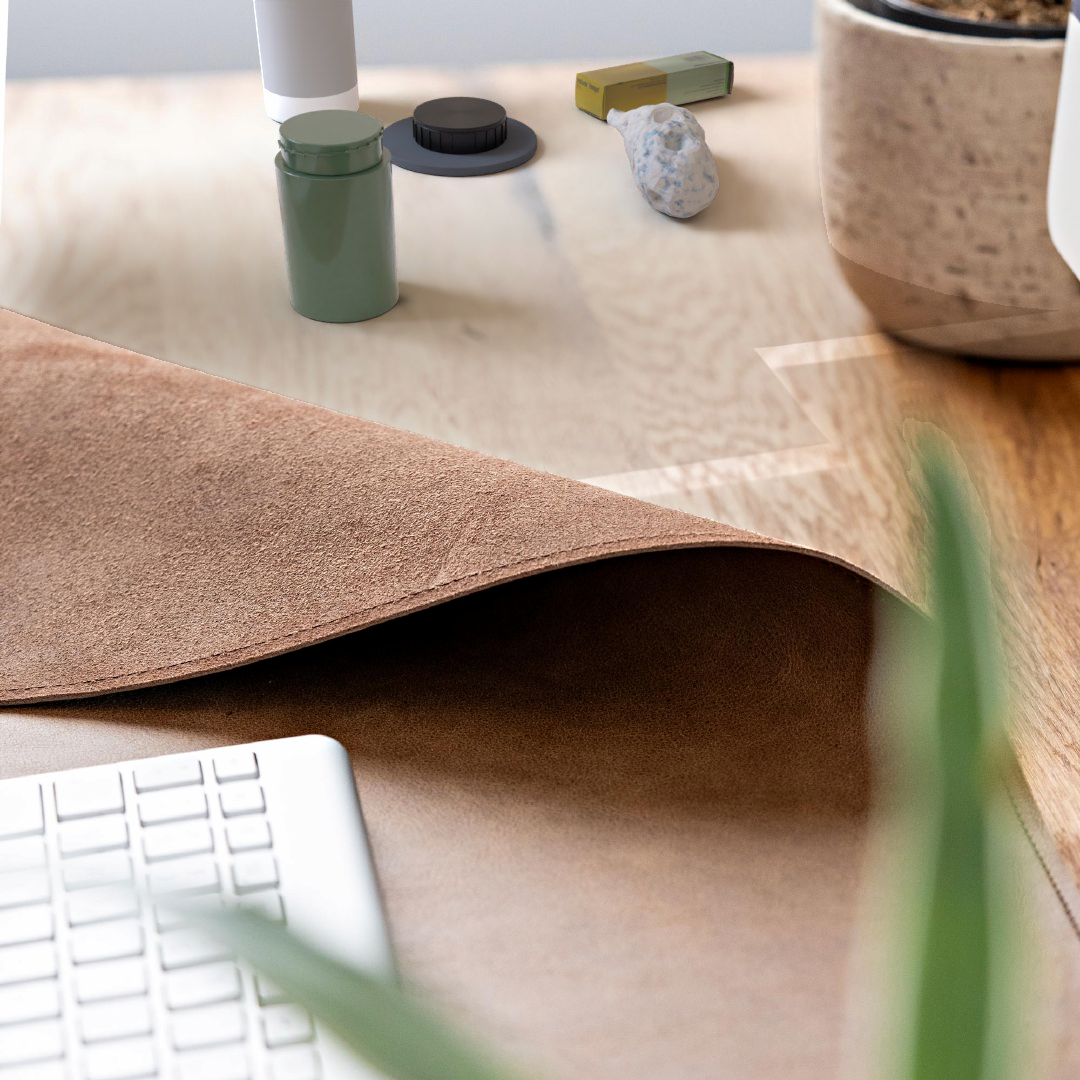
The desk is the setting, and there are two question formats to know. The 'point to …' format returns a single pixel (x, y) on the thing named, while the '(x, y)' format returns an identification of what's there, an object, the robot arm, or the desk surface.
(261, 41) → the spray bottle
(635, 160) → the decorative stone
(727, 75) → the medication box
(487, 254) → the desk surface
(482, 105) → the jar lid
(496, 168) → the coaster
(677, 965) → the desk surface
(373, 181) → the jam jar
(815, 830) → the desk surface
